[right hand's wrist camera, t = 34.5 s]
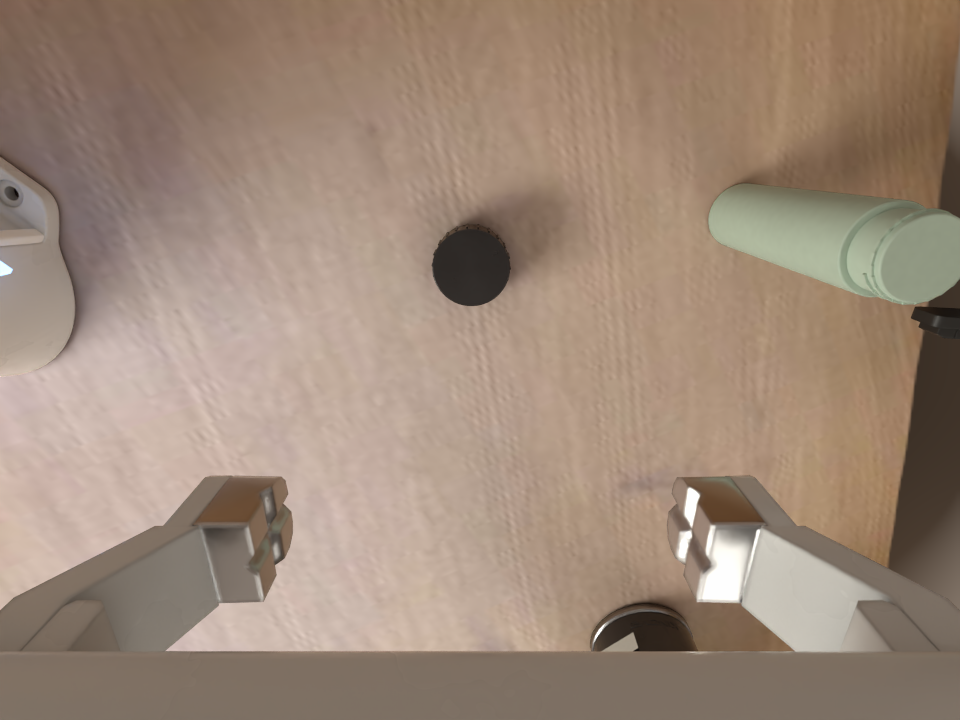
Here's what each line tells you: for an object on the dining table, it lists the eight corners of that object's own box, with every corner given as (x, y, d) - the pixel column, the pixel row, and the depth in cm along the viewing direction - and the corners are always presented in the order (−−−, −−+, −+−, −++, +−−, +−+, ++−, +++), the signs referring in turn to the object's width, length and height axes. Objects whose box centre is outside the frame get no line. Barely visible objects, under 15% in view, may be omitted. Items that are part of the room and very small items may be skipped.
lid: (480, 312, 37) (480, 321, 34) (419, 270, 35) (415, 278, 33) (524, 253, 35) (526, 259, 33) (461, 207, 34) (460, 211, 32)
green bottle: (695, 228, 34) (848, 280, 20) (734, 171, 33) (928, 183, 19) (743, 257, 35) (924, 327, 21) (783, 202, 34) (1006, 237, 19)
